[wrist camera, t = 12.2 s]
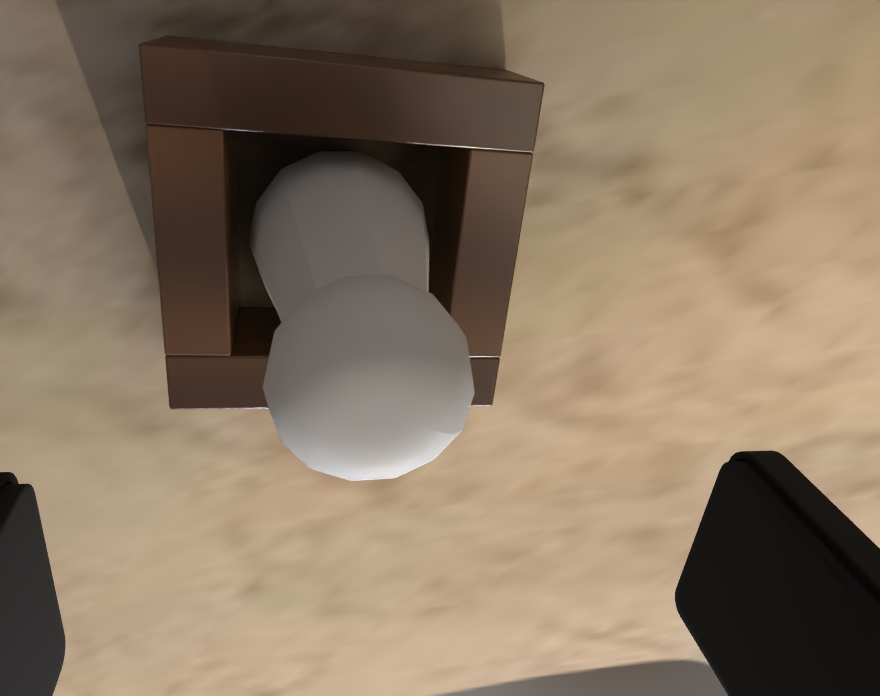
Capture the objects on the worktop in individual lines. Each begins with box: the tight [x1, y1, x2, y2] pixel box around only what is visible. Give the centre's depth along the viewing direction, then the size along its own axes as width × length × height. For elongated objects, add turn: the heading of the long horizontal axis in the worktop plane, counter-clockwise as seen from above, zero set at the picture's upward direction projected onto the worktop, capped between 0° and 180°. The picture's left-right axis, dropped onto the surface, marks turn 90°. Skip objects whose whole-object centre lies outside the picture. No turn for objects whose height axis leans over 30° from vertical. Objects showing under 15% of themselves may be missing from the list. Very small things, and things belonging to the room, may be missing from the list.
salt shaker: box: [249, 151, 475, 481], centre depth 19 cm, size 6×6×13 cm
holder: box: [139, 36, 544, 409], centre depth 23 cm, size 11×11×4 cm
